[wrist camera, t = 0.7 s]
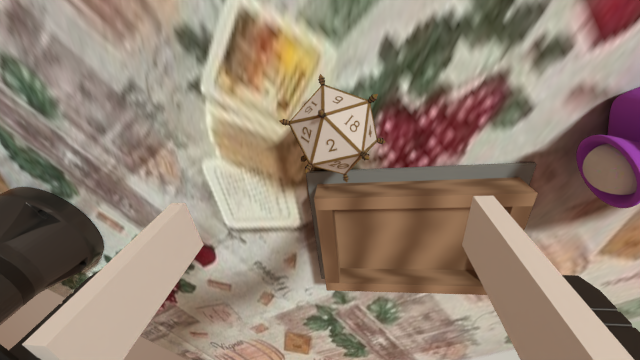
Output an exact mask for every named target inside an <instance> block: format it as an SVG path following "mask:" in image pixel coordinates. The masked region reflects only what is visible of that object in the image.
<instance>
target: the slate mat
mask: <svg viewBox="0 0 640 360" xmlns="http://www.w3.org/2000/svg"><path fill="white" fill-rule="evenodd" d="M535 167H536V163H534V162H531V163H506V164H482V165H458V166H434V167H410V168H385V169H361V170H350V171H349V172H348V173H347V175H348V178H349V179H348V182H345V181H344V180H343V174H339V173H336V172H332V171H313V172H307V173H306V177H307V184H308V191H309V198H310V204H311V211H312V218H313V224H314V231H315V238H316V244H317V251H318V258H319V265H320V271H321V278H322V279H325V274H324V266H323V259H322V252H321V245H320V238H319V230H318V223H317V216H316V209H315V202H314V197H315V193H316V189H317V184H337V183H367V182H396V181H426V180H455V179H485V178H514V177H520V178H521V179H522V180H523V181H524V182H525V183H527V184H528V185H530V182H531V179H532V176H533V173H534V170H535Z"/></svg>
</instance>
